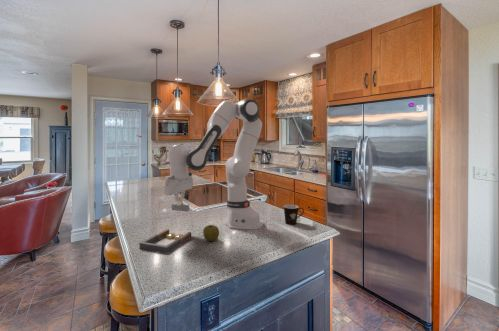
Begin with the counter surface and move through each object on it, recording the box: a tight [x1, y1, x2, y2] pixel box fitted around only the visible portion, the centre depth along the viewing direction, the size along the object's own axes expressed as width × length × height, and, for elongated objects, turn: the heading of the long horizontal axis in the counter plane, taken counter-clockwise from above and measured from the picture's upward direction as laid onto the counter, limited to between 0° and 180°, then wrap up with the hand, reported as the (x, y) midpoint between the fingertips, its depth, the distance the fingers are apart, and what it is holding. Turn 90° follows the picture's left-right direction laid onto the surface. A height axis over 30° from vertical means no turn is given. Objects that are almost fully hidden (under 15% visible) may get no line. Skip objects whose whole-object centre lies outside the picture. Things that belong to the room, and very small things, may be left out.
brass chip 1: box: [165, 232, 176, 240], centre depth 134 cm, size 4×4×2 cm
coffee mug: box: [283, 204, 305, 226], centre depth 154 cm, size 12×9×10 cm
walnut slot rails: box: [155, 228, 192, 245], centre depth 132 cm, size 15×9×2 cm, turn 70°
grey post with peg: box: [171, 192, 190, 212], centre depth 142 cm, size 10×2×9 cm, turn 68°
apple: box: [202, 224, 220, 242], centre depth 129 cm, size 8×8×7 cm
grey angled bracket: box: [139, 234, 181, 254], centre depth 123 cm, size 15×10×2 cm, turn 70°
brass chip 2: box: [173, 233, 184, 241], centre depth 132 cm, size 4×4×2 cm
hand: (180, 200), depth 142 cm, fingers closed on grey post with peg, 2 cm apart
